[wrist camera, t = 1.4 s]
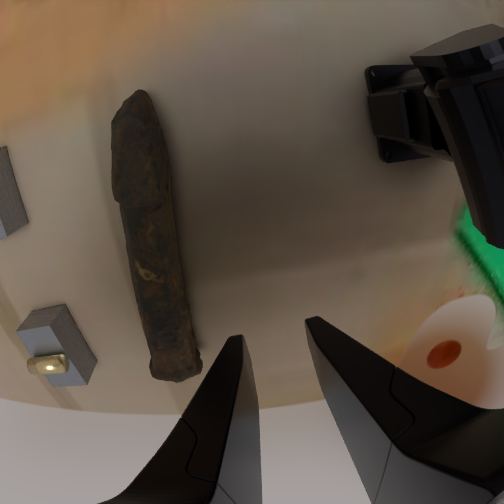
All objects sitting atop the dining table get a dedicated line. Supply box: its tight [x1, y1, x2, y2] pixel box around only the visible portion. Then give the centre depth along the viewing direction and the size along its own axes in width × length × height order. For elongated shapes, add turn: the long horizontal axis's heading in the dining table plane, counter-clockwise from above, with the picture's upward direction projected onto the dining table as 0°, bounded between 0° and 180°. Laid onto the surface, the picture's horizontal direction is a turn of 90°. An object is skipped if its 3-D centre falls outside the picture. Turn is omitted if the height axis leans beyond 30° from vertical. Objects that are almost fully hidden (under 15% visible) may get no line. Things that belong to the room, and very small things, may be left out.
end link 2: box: [16, 304, 97, 387], centre depth 21 cm, size 4×6×4 cm, turn 13°
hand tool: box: [111, 90, 203, 383], centre depth 18 cm, size 19×4×5 cm, turn 179°
